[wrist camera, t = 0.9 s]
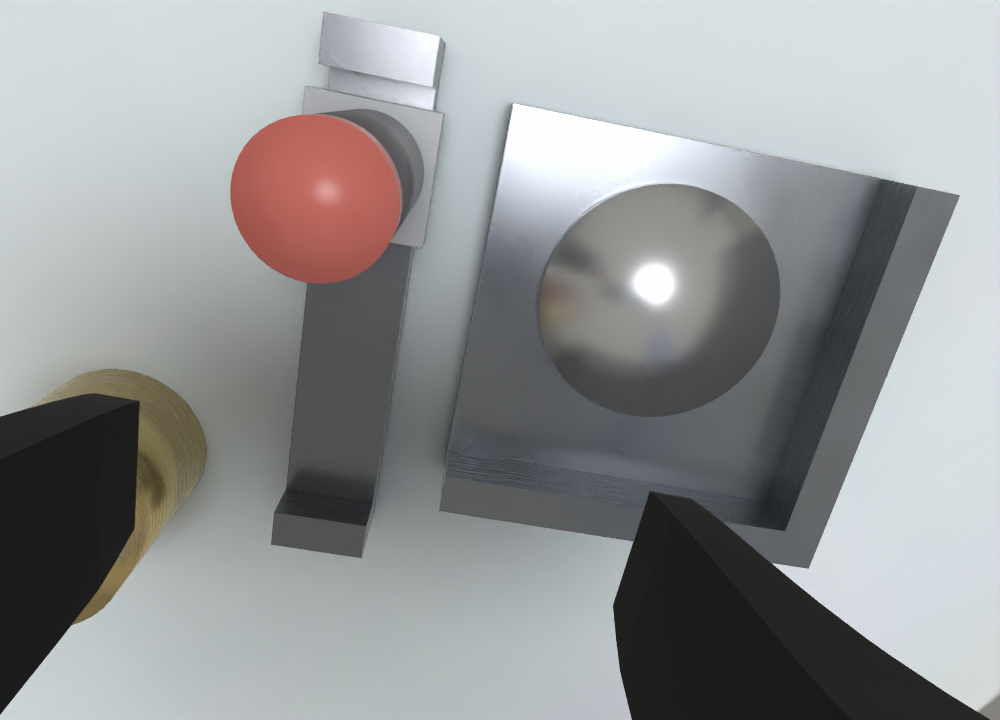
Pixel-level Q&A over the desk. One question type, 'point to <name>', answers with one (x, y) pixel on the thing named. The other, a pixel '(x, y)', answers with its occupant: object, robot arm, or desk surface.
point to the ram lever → (336, 184)
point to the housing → (147, 462)
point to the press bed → (679, 331)
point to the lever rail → (352, 321)
